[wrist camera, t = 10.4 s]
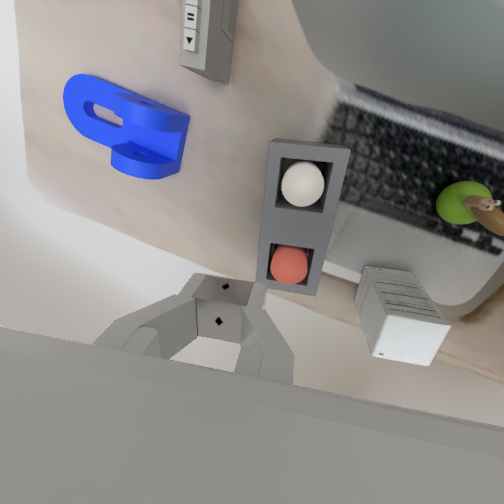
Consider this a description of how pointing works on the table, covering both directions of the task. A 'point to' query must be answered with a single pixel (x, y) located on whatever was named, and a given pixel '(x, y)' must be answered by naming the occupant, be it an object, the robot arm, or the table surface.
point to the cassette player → (208, 37)
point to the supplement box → (399, 316)
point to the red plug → (289, 264)
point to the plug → (302, 183)
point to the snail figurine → (470, 206)
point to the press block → (299, 211)
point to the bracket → (128, 126)
